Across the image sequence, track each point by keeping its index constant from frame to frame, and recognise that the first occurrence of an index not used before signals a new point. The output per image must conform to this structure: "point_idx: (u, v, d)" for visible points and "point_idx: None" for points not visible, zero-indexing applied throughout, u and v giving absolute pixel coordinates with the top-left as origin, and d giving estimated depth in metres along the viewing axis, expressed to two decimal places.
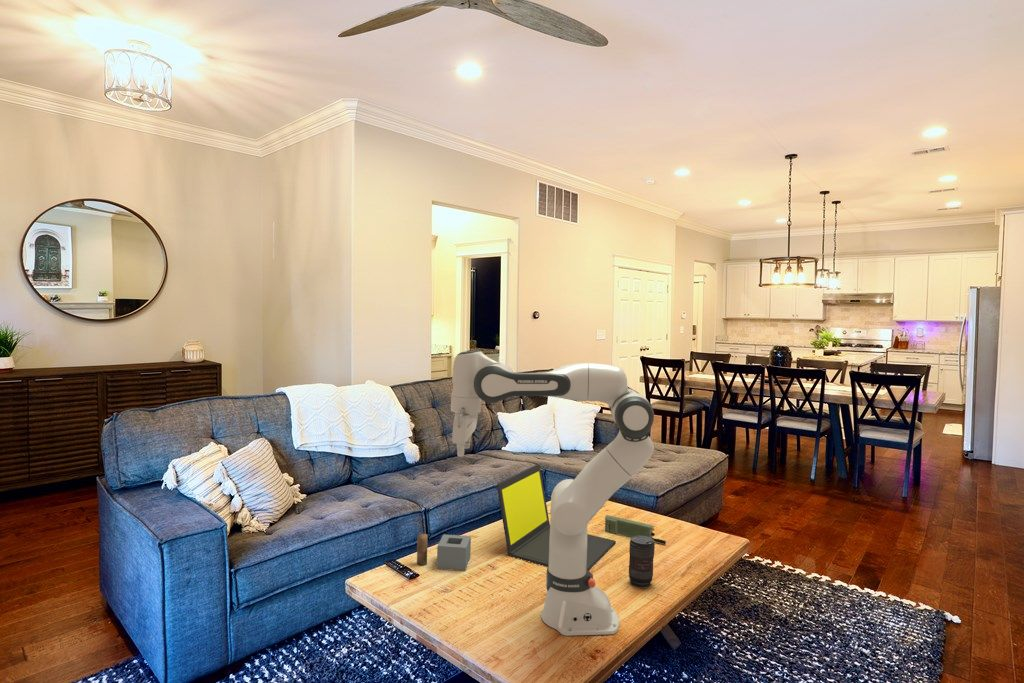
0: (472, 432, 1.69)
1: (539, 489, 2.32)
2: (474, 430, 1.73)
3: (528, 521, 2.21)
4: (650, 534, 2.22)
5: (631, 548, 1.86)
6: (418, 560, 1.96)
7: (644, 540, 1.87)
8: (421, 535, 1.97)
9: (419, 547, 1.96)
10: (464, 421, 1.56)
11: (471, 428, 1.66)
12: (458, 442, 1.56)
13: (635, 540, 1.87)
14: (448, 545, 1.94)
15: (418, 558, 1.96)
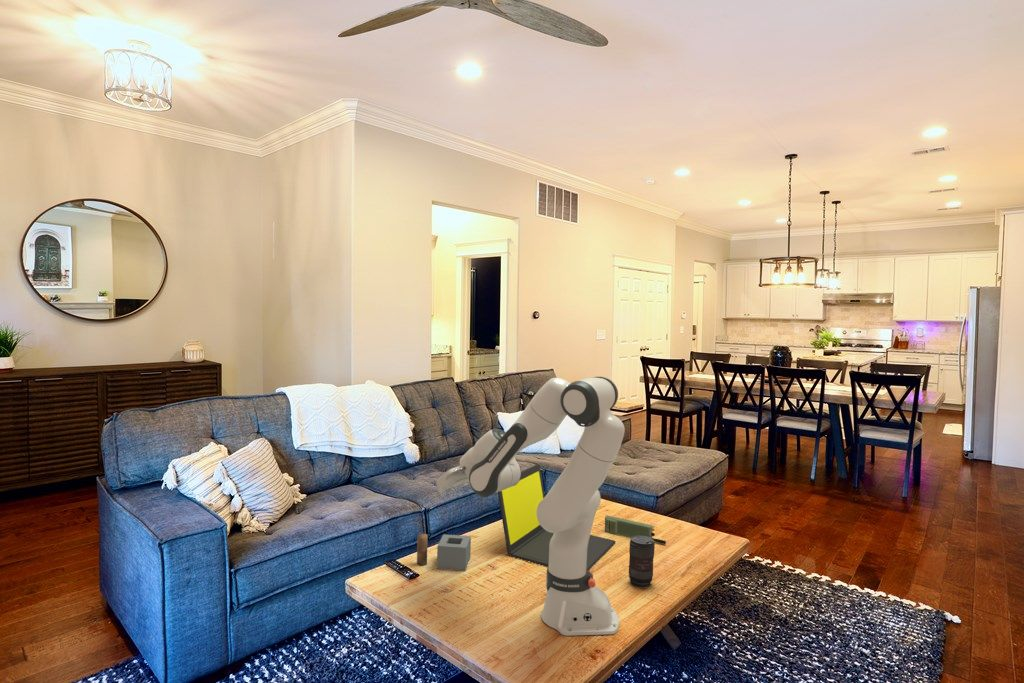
0: (467, 481, 1.88)
1: (538, 489, 2.32)
2: None
3: (528, 521, 2.21)
4: (650, 534, 2.22)
5: (631, 548, 1.86)
6: (418, 560, 1.96)
7: (643, 540, 1.87)
8: (421, 535, 1.97)
9: (419, 547, 1.96)
10: (452, 479, 1.76)
11: (466, 480, 1.86)
12: (438, 486, 1.78)
13: (635, 540, 1.87)
14: (448, 545, 1.94)
15: (418, 558, 1.96)
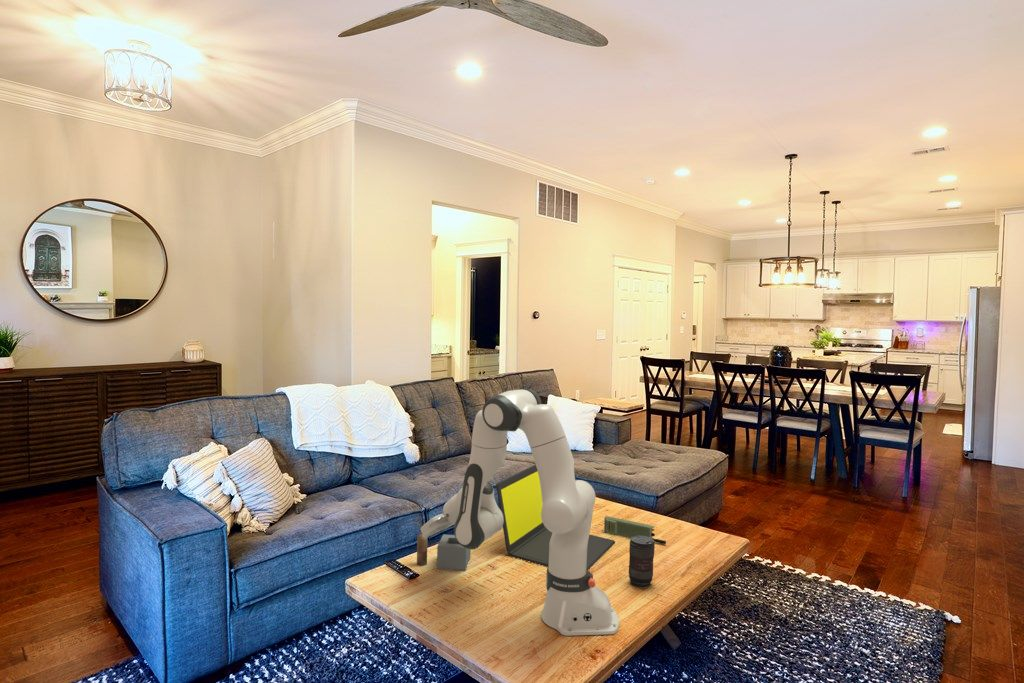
0: (451, 525, 1.94)
1: (538, 489, 2.32)
2: None
3: (527, 521, 2.21)
4: (650, 534, 2.22)
5: (631, 548, 1.86)
6: (418, 560, 1.96)
7: (643, 540, 1.87)
8: (421, 535, 1.97)
9: (419, 547, 1.96)
10: (435, 527, 1.81)
11: (450, 525, 1.91)
12: (422, 533, 1.84)
13: (635, 540, 1.87)
14: (448, 545, 1.94)
15: (418, 558, 1.96)
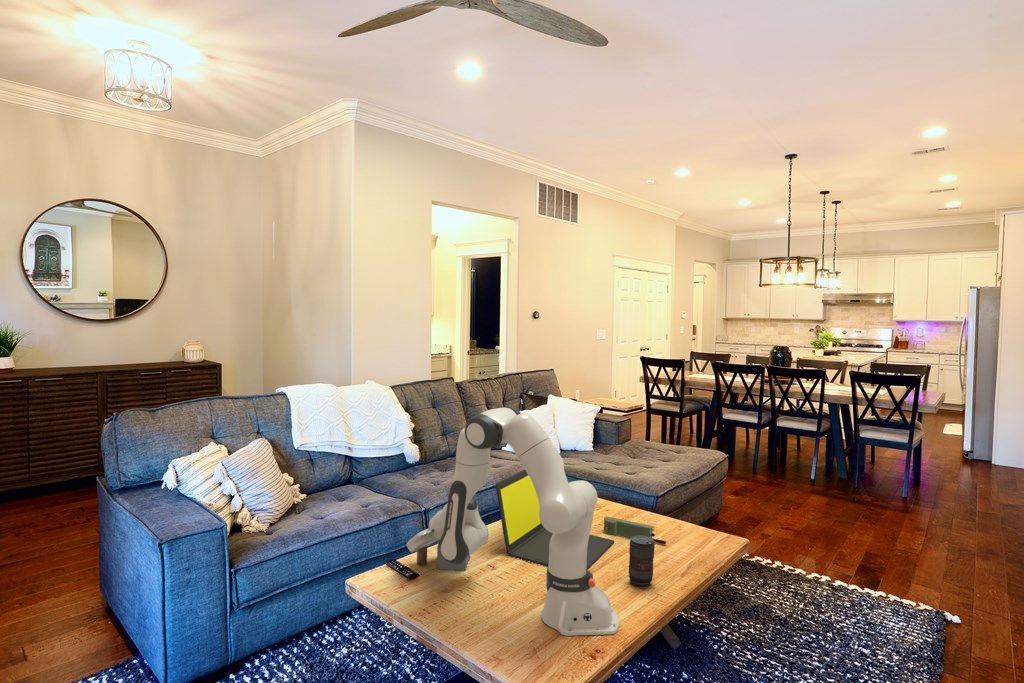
0: (437, 540, 1.97)
1: None
2: None
3: (527, 521, 2.21)
4: (650, 535, 2.21)
5: (631, 548, 1.86)
6: (418, 560, 1.96)
7: (643, 540, 1.87)
8: None
9: None
10: (420, 542, 1.85)
11: (436, 540, 1.95)
12: (408, 548, 1.87)
13: (635, 540, 1.87)
14: None
15: (418, 558, 1.96)
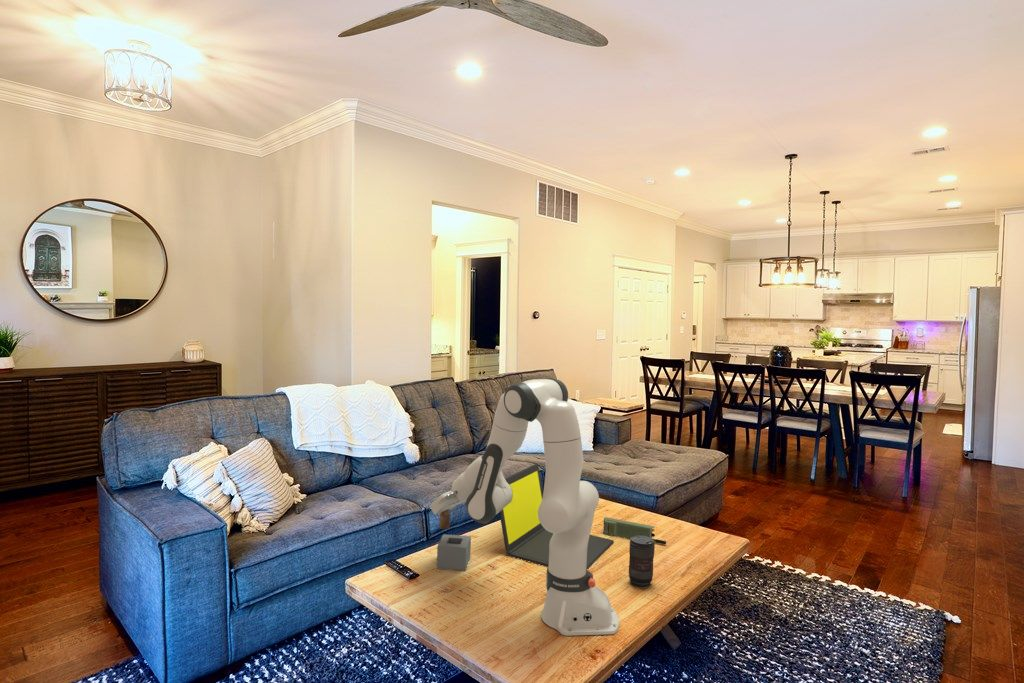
0: (460, 503, 1.98)
1: (537, 489, 2.32)
2: None
3: (526, 521, 2.21)
4: (650, 535, 2.21)
5: (631, 548, 1.86)
6: (441, 523, 1.96)
7: (643, 540, 1.87)
8: None
9: None
10: (444, 503, 1.85)
11: (458, 503, 1.95)
12: (432, 510, 1.88)
13: (635, 540, 1.87)
14: (448, 545, 1.94)
15: (441, 521, 1.96)
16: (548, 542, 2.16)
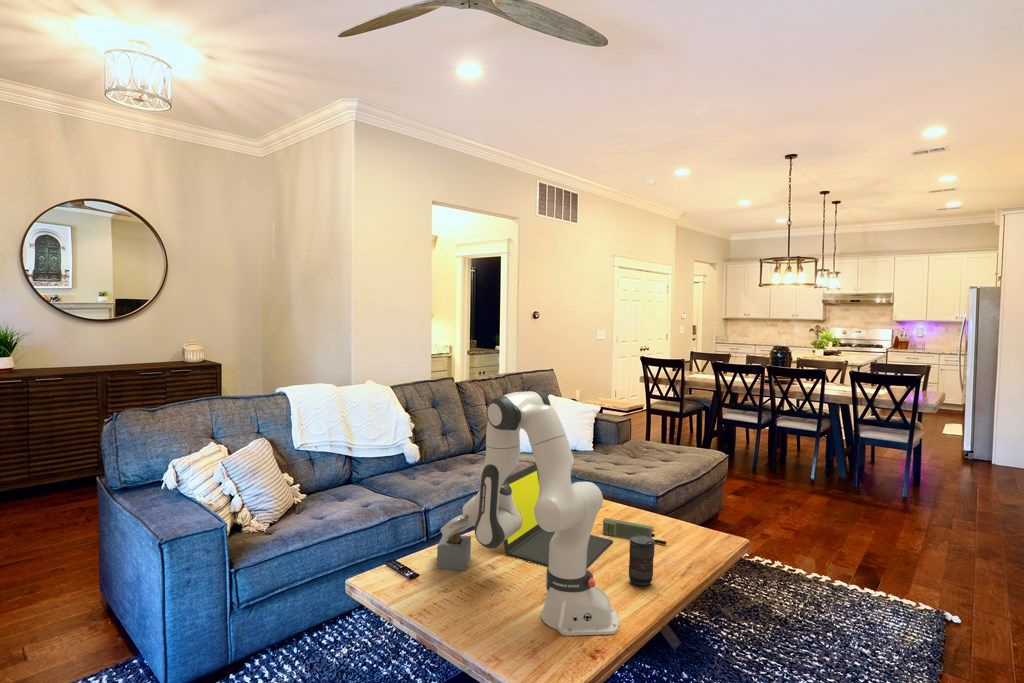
0: None
1: (536, 489, 2.33)
2: None
3: (526, 520, 2.21)
4: (650, 535, 2.21)
5: (631, 548, 1.86)
6: None
7: (643, 540, 1.87)
8: None
9: (452, 538, 1.97)
10: (455, 528, 1.86)
11: (468, 526, 1.96)
12: (442, 534, 1.88)
13: (635, 540, 1.87)
14: (448, 545, 1.94)
15: None
16: (547, 542, 2.16)
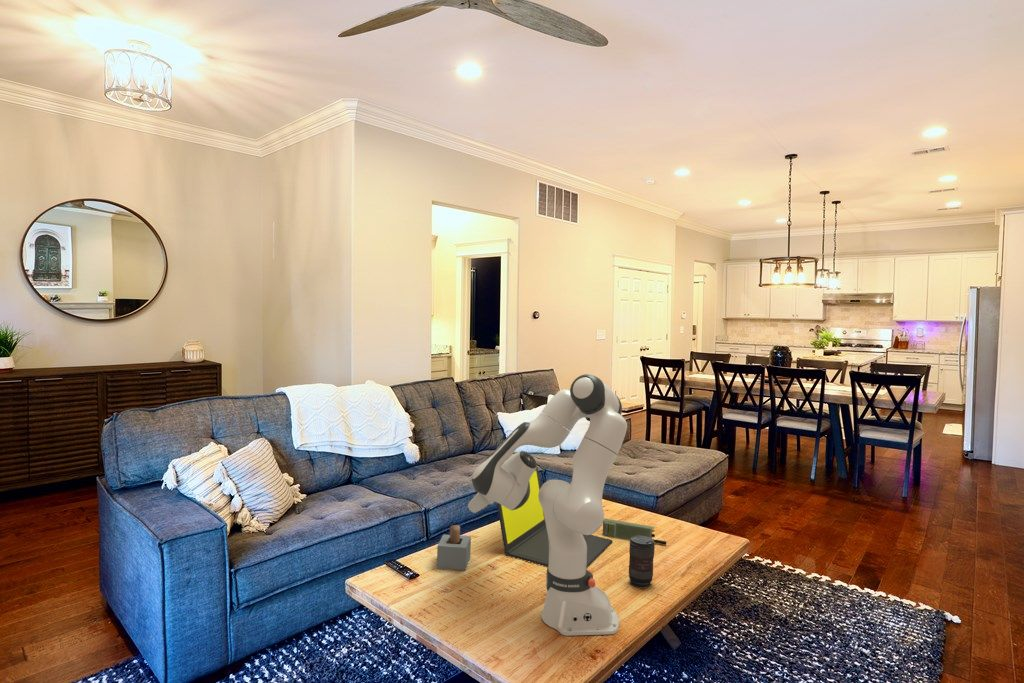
0: None
1: (536, 489, 2.33)
2: None
3: (525, 520, 2.21)
4: (650, 535, 2.21)
5: (631, 548, 1.86)
6: None
7: (643, 540, 1.87)
8: (454, 526, 1.98)
9: (452, 538, 1.97)
10: None
11: None
12: None
13: (635, 540, 1.87)
14: (448, 545, 1.94)
15: None
16: (547, 542, 2.17)
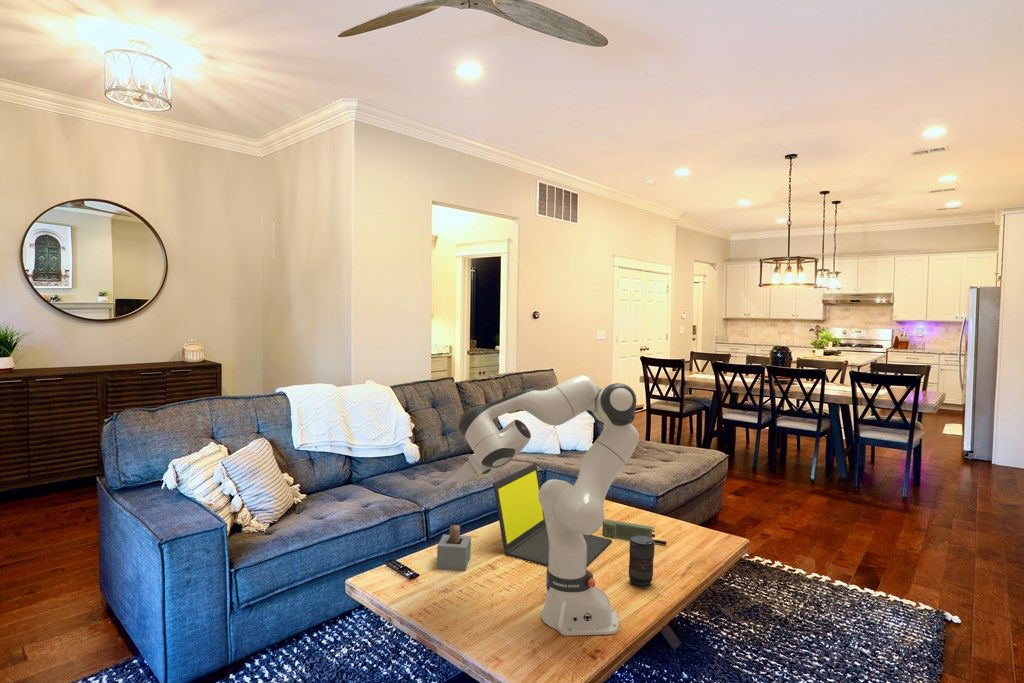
0: None
1: (535, 488, 2.33)
2: None
3: (525, 520, 2.21)
4: (651, 536, 2.20)
5: (631, 548, 1.86)
6: None
7: (643, 540, 1.87)
8: (453, 526, 1.98)
9: (452, 538, 1.97)
10: None
11: None
12: None
13: (635, 540, 1.87)
14: (448, 545, 1.94)
15: None
16: (546, 542, 2.17)
